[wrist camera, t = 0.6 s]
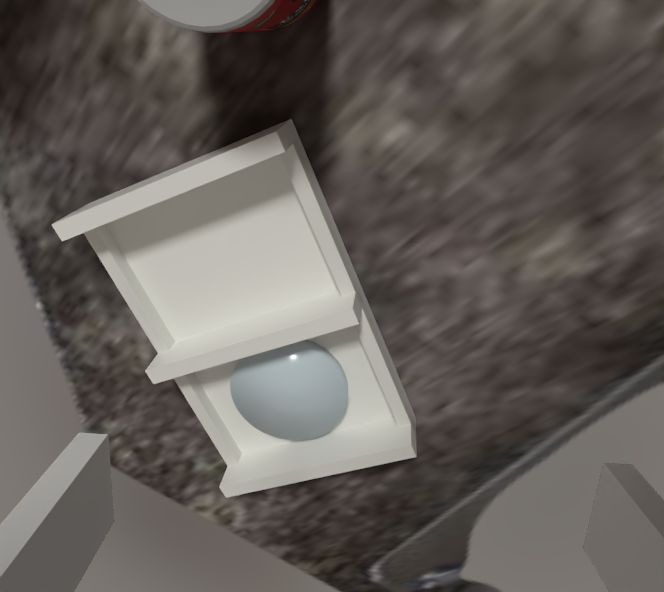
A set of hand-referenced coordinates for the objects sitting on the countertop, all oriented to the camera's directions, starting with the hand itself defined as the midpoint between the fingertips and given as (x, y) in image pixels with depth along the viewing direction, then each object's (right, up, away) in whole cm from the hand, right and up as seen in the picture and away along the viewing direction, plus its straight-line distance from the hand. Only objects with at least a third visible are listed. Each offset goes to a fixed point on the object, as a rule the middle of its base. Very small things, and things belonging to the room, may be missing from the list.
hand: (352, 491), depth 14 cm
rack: (-6, +4, +26) cm, 27 cm away
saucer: (-4, -2, +27) cm, 28 cm away
